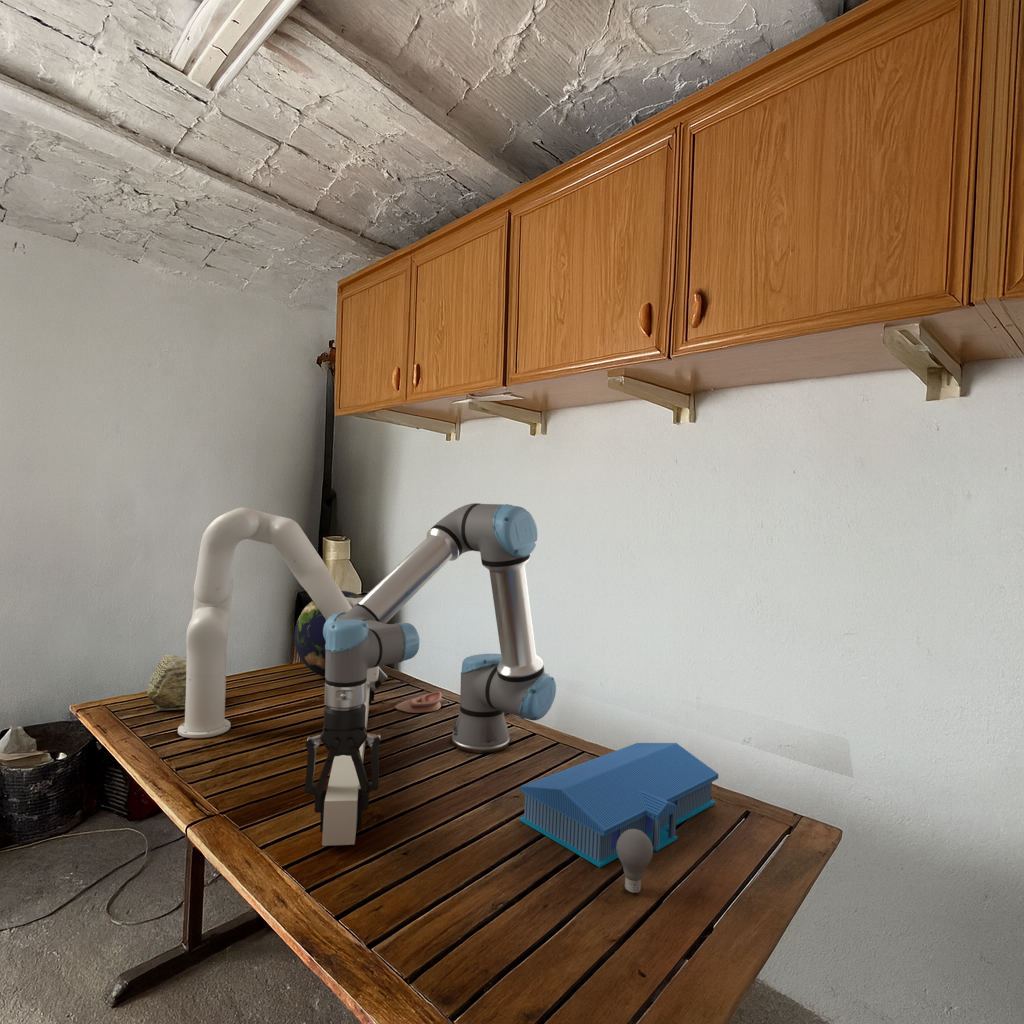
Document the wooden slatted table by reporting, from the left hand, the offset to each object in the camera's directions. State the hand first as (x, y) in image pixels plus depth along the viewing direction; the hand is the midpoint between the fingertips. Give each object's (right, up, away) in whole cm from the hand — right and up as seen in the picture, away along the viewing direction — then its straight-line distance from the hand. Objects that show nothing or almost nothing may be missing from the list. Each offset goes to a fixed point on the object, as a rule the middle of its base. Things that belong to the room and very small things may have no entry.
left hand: (358, 702), depth 183 cm
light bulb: (+64, -8, -77) cm, 101 cm away
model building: (+68, -8, -51) cm, 85 cm away
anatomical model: (+16, -5, +10) cm, 19 cm away
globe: (-16, -3, +38) cm, 41 cm away
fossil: (-52, -2, +2) cm, 52 cm away
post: (+6, -4, -32) cm, 33 cm away
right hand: (+12, -4, -64) cm, 66 cm away
